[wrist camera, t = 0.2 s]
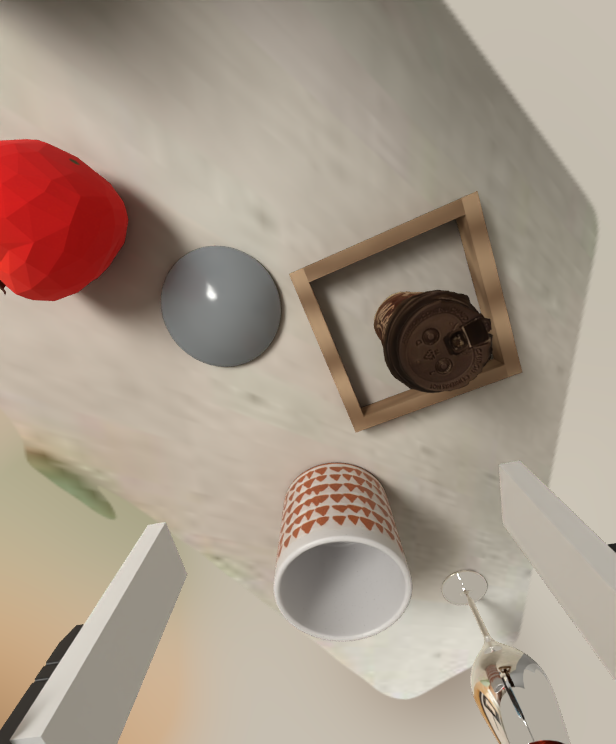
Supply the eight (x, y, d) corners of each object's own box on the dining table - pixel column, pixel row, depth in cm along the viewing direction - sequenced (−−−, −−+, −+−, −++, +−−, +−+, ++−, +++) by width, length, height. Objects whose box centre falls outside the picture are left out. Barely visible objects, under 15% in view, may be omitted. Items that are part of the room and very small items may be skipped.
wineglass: (466, 555, 48) (550, 719, 31) (505, 585, 50) (605, 757, 32) (423, 588, 50) (480, 759, 33) (461, 616, 52) (534, 793, 34)
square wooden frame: (290, 273, 37) (289, 274, 35) (466, 195, 34) (477, 191, 32) (353, 422, 42) (355, 432, 40) (509, 365, 40) (522, 372, 37)
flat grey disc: (140, 276, 37) (138, 276, 37) (249, 225, 36) (248, 224, 35) (198, 381, 41) (196, 382, 40) (299, 339, 39) (299, 340, 39)
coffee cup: (453, 290, 37) (523, 305, 25) (431, 363, 40) (484, 410, 27) (374, 275, 37) (404, 282, 24) (356, 349, 39) (376, 390, 27)
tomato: (124, 172, 37) (52, 259, 40) (-28, 60, 25) (-111, 194, 29) (171, 251, 33) (87, 340, 36) (14, 159, 21) (-89, 303, 24)
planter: (329, 562, 49) (333, 661, 37) (262, 500, 46) (244, 586, 34) (408, 510, 46) (441, 600, 34) (342, 440, 43) (353, 511, 31)
